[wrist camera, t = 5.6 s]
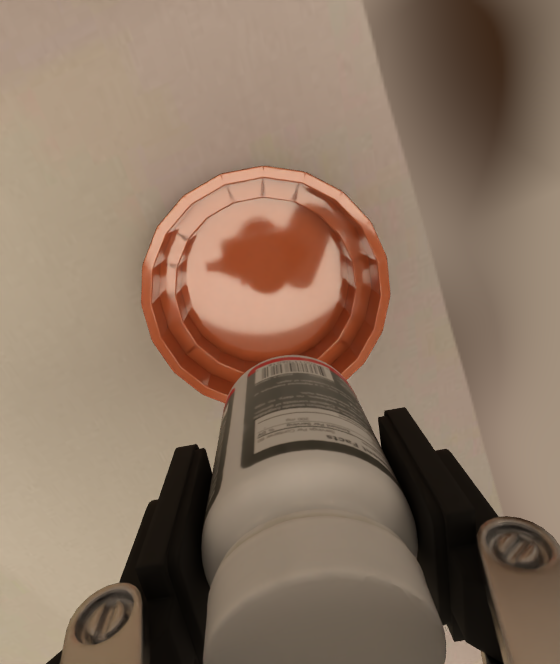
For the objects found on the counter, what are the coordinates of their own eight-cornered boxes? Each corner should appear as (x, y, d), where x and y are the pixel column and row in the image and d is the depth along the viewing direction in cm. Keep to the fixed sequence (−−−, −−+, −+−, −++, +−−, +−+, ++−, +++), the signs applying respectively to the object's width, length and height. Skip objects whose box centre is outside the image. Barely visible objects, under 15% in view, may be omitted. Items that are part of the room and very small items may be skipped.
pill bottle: (293, 491, 16) (327, 796, 8) (196, 419, 14) (117, 688, 7) (384, 408, 15) (531, 656, 7) (287, 323, 14) (325, 502, 6)
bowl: (355, 152, 26) (376, 143, 21) (379, 359, 30) (399, 386, 26) (132, 195, 26) (107, 195, 21) (189, 395, 30) (178, 428, 26)
